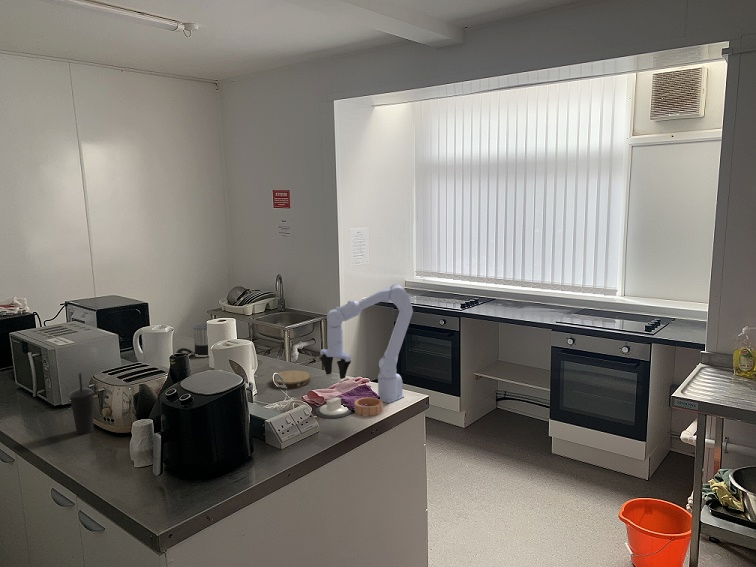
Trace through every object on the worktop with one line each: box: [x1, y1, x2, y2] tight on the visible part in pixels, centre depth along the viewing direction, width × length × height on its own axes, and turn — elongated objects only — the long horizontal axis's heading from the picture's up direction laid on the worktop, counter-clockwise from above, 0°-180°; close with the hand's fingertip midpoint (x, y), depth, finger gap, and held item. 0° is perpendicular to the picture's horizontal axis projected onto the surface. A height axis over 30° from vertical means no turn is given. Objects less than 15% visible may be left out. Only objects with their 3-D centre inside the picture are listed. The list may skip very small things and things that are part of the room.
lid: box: [319, 396, 348, 416], centre depth 210 cm, size 10×10×4 cm
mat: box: [315, 405, 352, 419], centre depth 210 cm, size 13×13×1 cm
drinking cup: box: [68, 373, 95, 435], centre depth 192 cm, size 8×8×20 cm
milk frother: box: [175, 323, 208, 355], centre depth 281 cm, size 14×16×15 cm
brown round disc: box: [271, 369, 311, 390], centre depth 242 cm, size 16×16×3 cm
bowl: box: [353, 396, 384, 417], centre depth 210 cm, size 10×10×3 cm
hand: (335, 376), depth 220 cm, fingers open, 7 cm apart
